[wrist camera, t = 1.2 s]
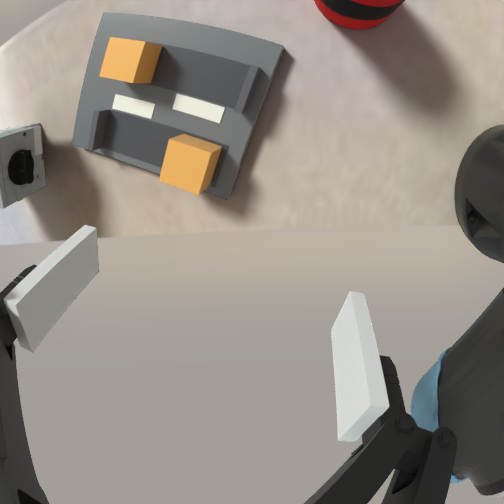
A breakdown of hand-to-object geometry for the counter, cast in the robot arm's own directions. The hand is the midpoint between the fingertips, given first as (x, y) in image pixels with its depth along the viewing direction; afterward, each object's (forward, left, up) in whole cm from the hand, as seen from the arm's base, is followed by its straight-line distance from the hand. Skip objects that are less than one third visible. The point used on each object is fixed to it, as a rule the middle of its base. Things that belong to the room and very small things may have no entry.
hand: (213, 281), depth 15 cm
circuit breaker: (+31, +6, -19) cm, 36 cm away
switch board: (+13, -5, -18) cm, 23 cm away
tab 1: (+16, -8, -16) cm, 24 cm away
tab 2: (+7, 0, -16) cm, 18 cm away
